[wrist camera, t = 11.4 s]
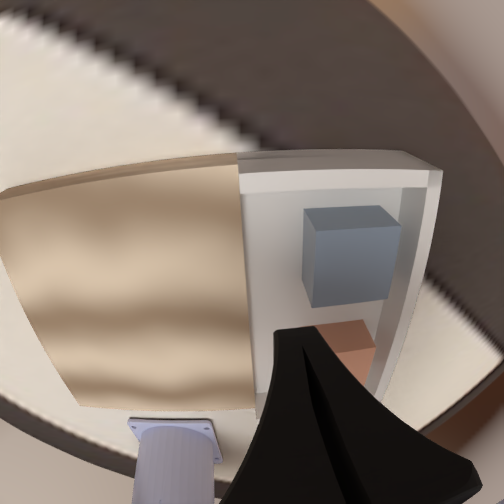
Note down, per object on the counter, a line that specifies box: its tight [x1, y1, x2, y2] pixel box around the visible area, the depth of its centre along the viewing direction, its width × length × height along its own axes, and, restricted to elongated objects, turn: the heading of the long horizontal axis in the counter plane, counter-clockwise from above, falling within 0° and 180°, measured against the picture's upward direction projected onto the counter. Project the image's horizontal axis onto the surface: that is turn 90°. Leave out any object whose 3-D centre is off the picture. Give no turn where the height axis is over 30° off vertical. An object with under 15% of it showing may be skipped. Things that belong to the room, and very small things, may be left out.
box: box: [237, 149, 443, 425], centre depth 18 cm, size 17×9×4 cm, turn 3°
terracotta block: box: [301, 319, 376, 386], centre depth 19 cm, size 4×4×2 cm
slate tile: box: [302, 205, 402, 308], centre depth 15 cm, size 4×4×2 cm
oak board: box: [0, 153, 255, 411], centre depth 18 cm, size 17×14×2 cm
